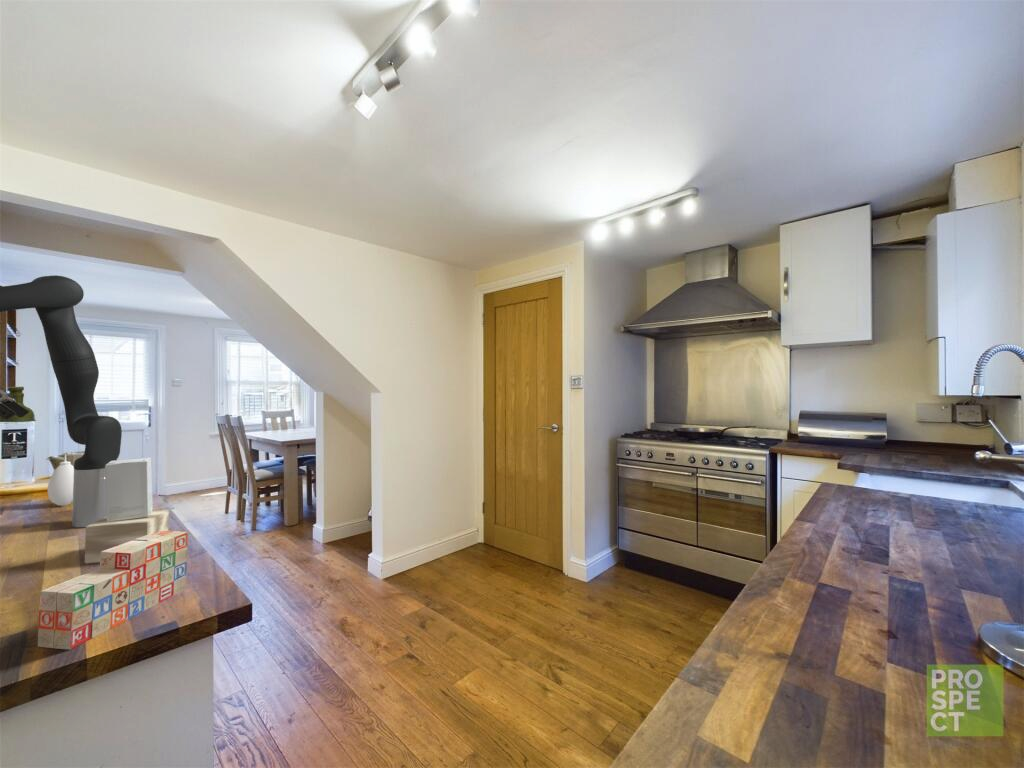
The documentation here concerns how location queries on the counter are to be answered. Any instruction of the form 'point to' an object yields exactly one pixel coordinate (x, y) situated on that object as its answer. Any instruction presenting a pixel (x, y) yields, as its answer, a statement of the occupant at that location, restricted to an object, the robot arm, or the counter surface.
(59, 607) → the stack of blocks
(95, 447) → the robot arm
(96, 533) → the riser block
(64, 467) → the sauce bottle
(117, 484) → the skincare box
